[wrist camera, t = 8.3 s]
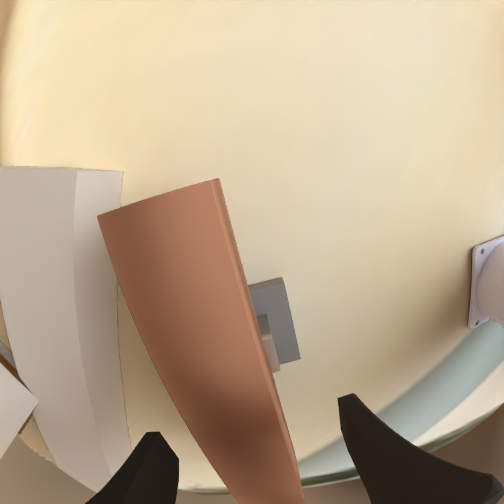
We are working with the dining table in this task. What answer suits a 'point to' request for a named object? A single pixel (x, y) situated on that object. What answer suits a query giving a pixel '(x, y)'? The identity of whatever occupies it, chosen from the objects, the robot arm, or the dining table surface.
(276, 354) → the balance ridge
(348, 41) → the dining table surface
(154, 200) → the mahogany rod
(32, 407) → the white tower model
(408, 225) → the dining table surface
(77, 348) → the decorative molding
